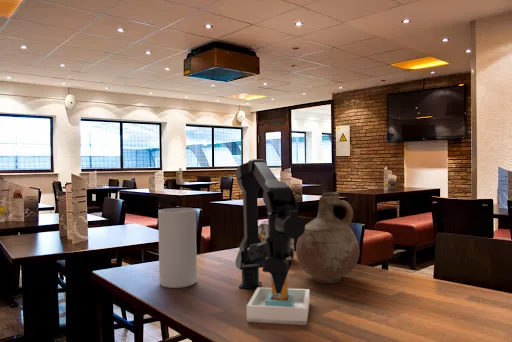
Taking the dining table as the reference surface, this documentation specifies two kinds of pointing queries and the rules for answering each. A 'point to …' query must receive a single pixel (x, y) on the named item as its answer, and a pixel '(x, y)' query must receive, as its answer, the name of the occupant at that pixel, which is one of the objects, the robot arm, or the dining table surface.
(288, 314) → the walled tray
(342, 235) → the jug
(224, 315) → the dining table surface
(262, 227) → the decorative jar
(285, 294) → the supplement box
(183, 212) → the cylinder vase
